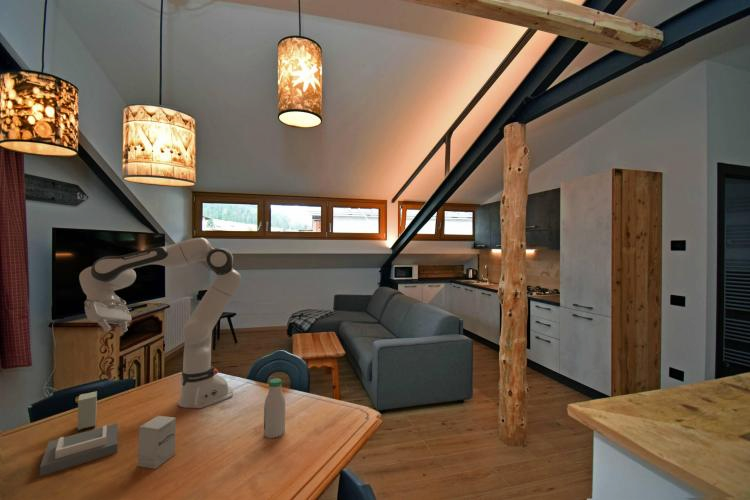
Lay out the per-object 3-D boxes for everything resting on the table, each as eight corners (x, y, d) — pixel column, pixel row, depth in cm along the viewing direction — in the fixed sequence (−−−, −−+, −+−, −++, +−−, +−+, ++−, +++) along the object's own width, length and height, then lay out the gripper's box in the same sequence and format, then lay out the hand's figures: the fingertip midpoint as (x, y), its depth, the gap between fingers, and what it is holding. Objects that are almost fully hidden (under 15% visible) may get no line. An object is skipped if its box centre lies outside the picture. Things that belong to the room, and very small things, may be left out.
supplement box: (156, 469, 97) (157, 429, 97) (136, 466, 98) (137, 426, 98) (175, 454, 104) (176, 417, 104) (157, 451, 105) (158, 414, 105)
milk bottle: (289, 430, 119) (290, 378, 119) (274, 441, 112) (275, 386, 112) (273, 425, 122) (274, 374, 123) (259, 435, 115) (260, 382, 116)
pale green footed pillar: (96, 421, 123) (96, 391, 123) (95, 427, 119) (96, 396, 119) (78, 425, 120) (79, 394, 120) (77, 432, 115) (78, 400, 116)
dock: (117, 431, 117) (117, 416, 117) (117, 452, 104) (117, 436, 105) (48, 450, 105) (49, 434, 105) (39, 476, 93) (40, 458, 93)
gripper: (92, 293, 118) (105, 324, 115) (128, 301, 137) (140, 327, 134) (74, 303, 116) (88, 334, 114) (113, 309, 136) (125, 336, 133)
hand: (116, 330), depth 124 cm, fingers open, 8 cm apart
